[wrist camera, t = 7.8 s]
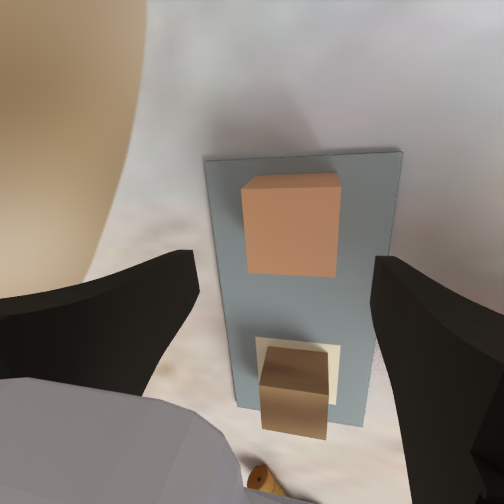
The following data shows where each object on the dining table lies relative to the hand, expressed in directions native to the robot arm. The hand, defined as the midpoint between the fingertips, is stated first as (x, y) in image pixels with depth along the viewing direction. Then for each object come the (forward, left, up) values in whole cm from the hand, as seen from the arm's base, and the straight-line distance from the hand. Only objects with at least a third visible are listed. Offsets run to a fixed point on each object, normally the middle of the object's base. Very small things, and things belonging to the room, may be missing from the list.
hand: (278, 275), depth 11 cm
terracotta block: (0, 0, -8) cm, 8 cm away
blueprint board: (-6, +6, -9) cm, 12 cm away
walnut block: (-11, +10, -8) cm, 17 cm away
